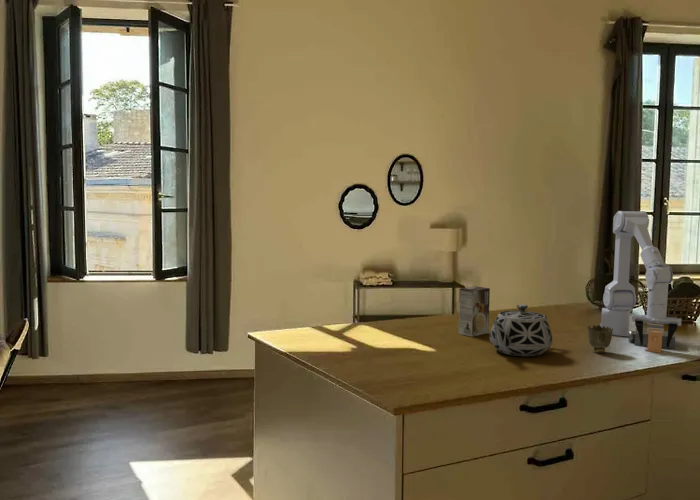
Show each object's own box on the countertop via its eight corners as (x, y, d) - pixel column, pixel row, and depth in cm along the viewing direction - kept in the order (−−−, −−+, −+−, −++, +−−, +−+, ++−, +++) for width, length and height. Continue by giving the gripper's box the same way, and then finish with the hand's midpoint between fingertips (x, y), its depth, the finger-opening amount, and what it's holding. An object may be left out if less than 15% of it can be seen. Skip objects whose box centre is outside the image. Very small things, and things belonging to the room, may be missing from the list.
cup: (599, 356, 218) (600, 330, 217) (581, 350, 224) (582, 326, 223) (616, 353, 221) (618, 328, 220) (598, 348, 228) (599, 324, 227)
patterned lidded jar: (464, 354, 217) (465, 306, 215) (518, 340, 238) (520, 296, 237) (518, 367, 203) (520, 316, 202) (570, 350, 225) (572, 303, 223)
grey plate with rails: (628, 344, 234) (629, 326, 234) (628, 339, 242) (629, 321, 242) (674, 349, 229) (675, 330, 228) (673, 343, 237) (674, 325, 236)
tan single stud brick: (647, 352, 224) (648, 333, 223) (647, 348, 229) (648, 330, 228) (661, 353, 222) (662, 335, 222) (661, 350, 228) (662, 331, 227)
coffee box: (474, 330, 252) (476, 285, 250) (488, 333, 247) (490, 288, 245) (457, 333, 246) (459, 288, 244) (472, 337, 241) (473, 290, 239)
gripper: (632, 303, 224) (629, 345, 225) (682, 307, 218) (679, 350, 220) (633, 300, 231) (630, 341, 232) (682, 304, 225) (679, 345, 226)
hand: (654, 345), depth 226 cm, fingers open, 7 cm apart
